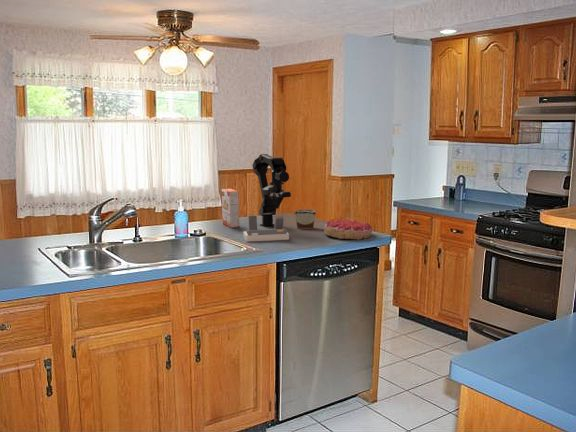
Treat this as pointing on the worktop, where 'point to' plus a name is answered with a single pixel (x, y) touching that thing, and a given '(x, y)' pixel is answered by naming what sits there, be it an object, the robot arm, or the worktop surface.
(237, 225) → the cracker box
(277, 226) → the grey rectangular carton
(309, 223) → the food container
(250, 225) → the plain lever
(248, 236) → the switch panel
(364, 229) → the cake
